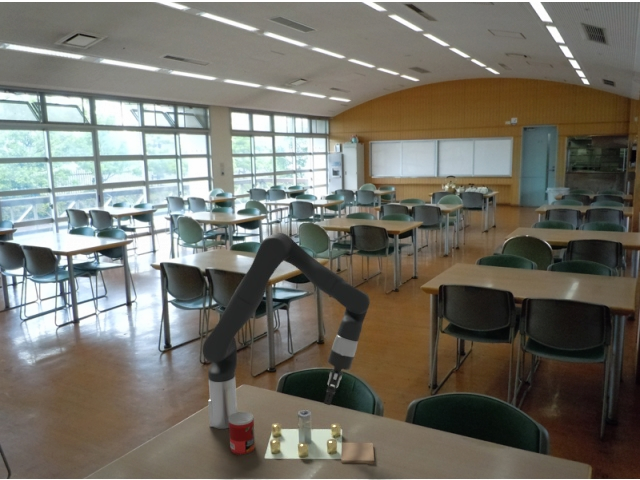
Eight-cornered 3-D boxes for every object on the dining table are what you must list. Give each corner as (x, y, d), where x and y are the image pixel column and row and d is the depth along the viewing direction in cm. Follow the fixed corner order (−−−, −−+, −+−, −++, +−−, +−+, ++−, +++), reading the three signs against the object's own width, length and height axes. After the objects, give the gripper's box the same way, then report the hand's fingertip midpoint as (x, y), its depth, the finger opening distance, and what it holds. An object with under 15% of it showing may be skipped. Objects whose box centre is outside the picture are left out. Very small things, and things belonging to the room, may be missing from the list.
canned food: (250, 456, 166) (249, 424, 165) (226, 454, 168) (224, 422, 166) (258, 443, 174) (256, 412, 172) (235, 441, 175) (233, 410, 174)
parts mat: (264, 459, 164) (264, 458, 164) (272, 430, 182) (272, 429, 182) (341, 460, 163) (341, 458, 163) (342, 430, 181) (342, 429, 181)
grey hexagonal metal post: (298, 445, 171) (297, 416, 170) (299, 437, 176) (298, 409, 174) (310, 445, 171) (310, 416, 170) (311, 437, 176) (311, 409, 174)
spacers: (265, 457, 165) (265, 447, 164) (272, 432, 180) (272, 423, 179) (340, 458, 163) (339, 447, 163) (340, 432, 178) (340, 423, 178)
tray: (341, 463, 161) (341, 460, 161) (341, 446, 171) (341, 442, 171) (374, 464, 160) (374, 460, 160) (372, 446, 170) (372, 442, 170)
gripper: (333, 344, 175) (318, 391, 175) (330, 351, 161) (314, 402, 161) (355, 351, 174) (340, 398, 174) (353, 359, 160) (337, 410, 160)
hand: (327, 400), depth 167 cm, fingers open, 8 cm apart
